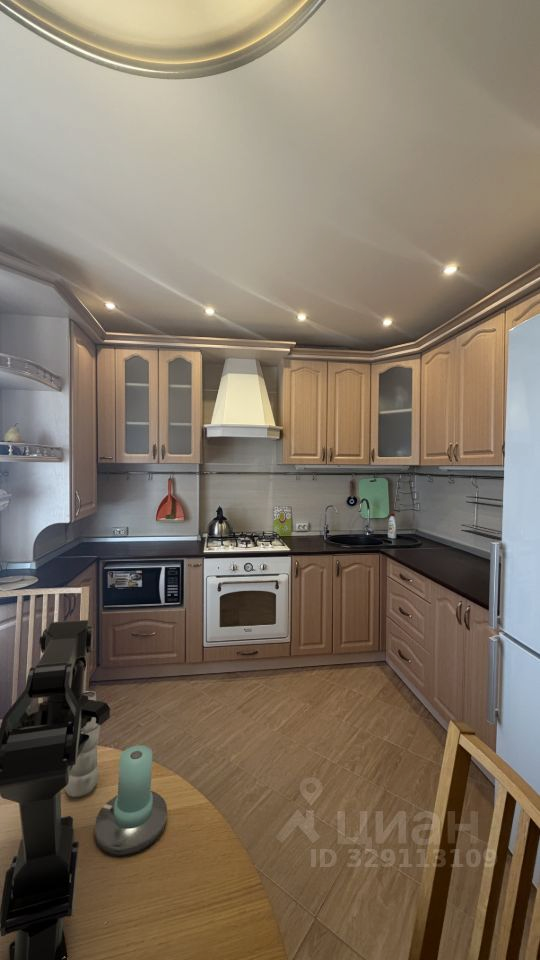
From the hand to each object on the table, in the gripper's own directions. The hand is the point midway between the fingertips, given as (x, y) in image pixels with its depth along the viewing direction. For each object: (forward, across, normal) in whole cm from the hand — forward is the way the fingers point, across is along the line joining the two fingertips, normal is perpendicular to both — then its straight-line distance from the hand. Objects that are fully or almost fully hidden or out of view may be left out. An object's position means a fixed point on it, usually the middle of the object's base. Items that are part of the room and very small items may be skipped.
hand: (59, 785), depth 69 cm
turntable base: (+13, -10, +8) cm, 18 cm away
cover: (+11, -10, +8) cm, 17 cm away
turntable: (+12, -10, +8) cm, 18 cm away
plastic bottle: (+13, -15, -7) cm, 21 cm away
